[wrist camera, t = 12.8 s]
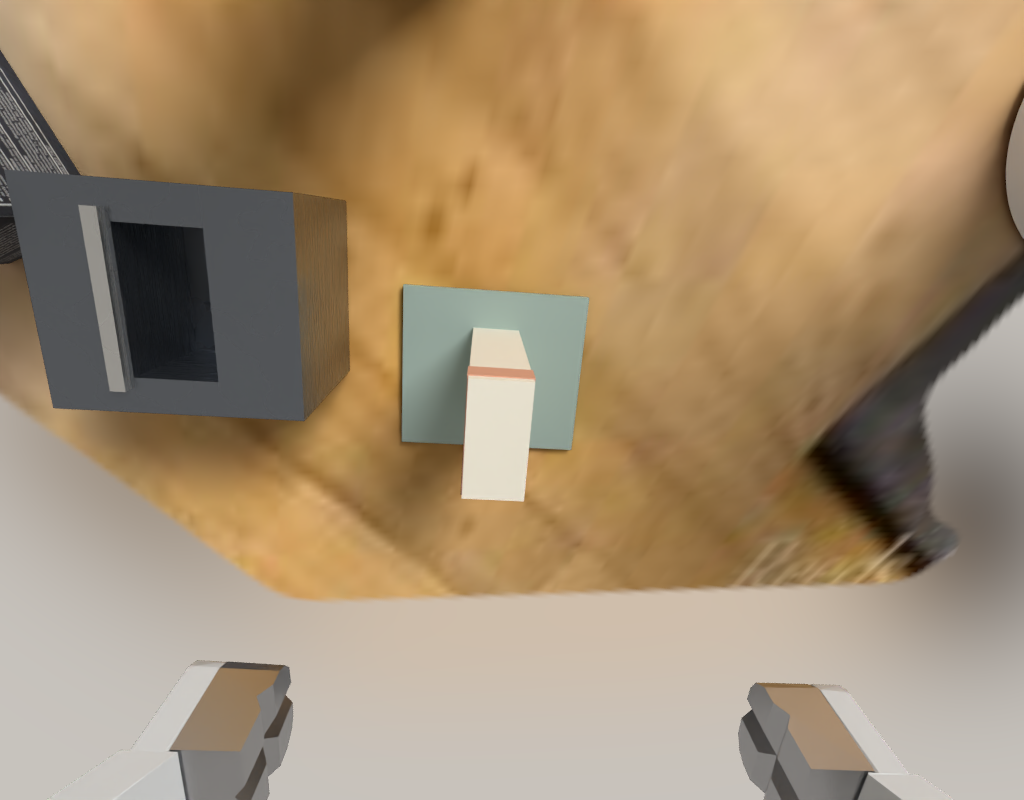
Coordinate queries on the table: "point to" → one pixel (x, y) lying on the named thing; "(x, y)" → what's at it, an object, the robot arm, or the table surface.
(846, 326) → the table surface
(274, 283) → the dispenser
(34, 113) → the small box
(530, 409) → the white block
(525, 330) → the mat
